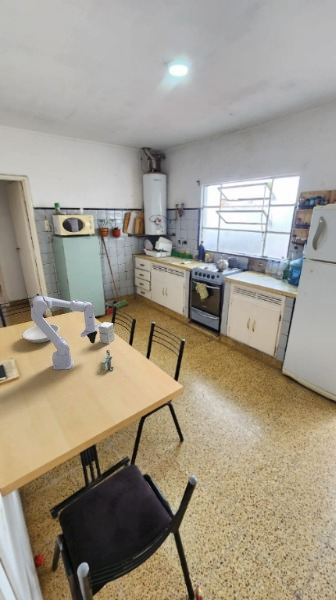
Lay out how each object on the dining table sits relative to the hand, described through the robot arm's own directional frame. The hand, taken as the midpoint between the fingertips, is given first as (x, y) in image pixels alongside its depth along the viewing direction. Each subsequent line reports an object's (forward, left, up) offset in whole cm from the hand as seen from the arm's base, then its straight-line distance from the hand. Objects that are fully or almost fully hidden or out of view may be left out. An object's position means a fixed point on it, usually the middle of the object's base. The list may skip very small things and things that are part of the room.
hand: (92, 342), depth 152 cm
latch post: (+12, -13, -10) cm, 20 cm away
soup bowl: (-42, +23, -10) cm, 49 cm away
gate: (+9, -9, -9) cm, 16 cm away
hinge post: (+9, -3, -10) cm, 14 cm away
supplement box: (+4, +19, -10) cm, 22 cm away
